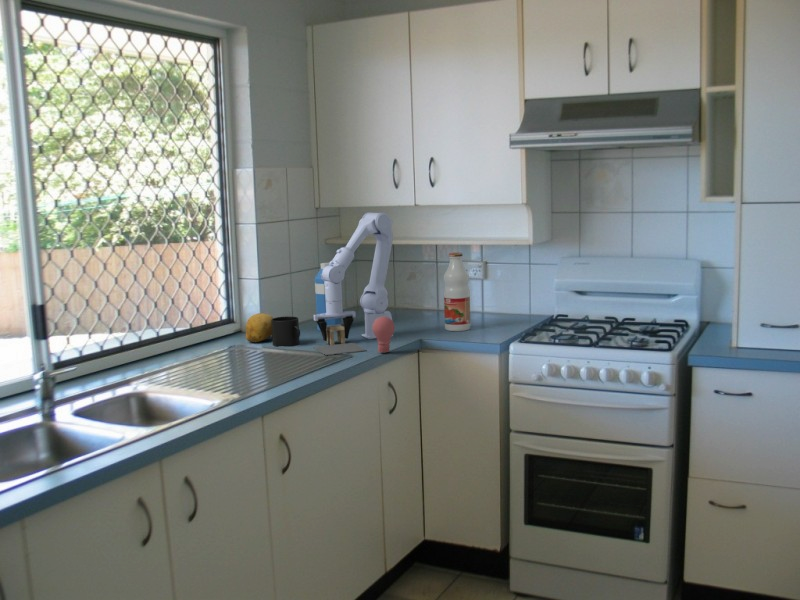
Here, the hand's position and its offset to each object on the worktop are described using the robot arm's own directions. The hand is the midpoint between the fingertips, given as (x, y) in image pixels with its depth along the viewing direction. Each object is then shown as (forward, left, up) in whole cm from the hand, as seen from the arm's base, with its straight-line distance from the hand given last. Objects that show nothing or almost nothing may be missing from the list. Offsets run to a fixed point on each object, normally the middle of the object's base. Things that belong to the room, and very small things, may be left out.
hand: (335, 339), depth 295 cm
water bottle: (-6, -28, -2) cm, 29 cm away
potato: (+22, -19, -2) cm, 29 cm away
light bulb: (-9, +24, -2) cm, 26 cm away
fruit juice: (-47, -1, -2) cm, 47 cm away
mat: (+2, +11, -1) cm, 11 cm away
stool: (0, 0, -1) cm, 1 cm away
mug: (+15, -7, -2) cm, 17 cm away
